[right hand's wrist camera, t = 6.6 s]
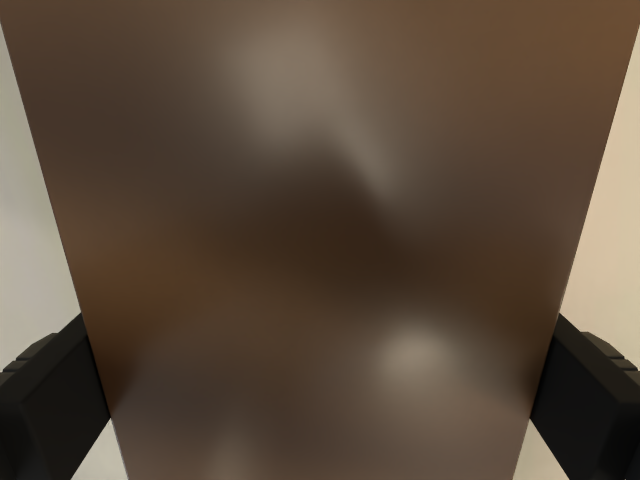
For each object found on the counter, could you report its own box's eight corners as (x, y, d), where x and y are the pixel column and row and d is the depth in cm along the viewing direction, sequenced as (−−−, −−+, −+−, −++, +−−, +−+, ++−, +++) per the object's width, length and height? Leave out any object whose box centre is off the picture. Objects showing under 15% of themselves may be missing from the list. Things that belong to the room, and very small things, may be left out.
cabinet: (162, -189, 13) (-290, -1004, 3) (477, -188, 13) (931, -1004, 3) (221, 316, 21) (134, 510, 11) (418, 316, 21) (505, 510, 11)
